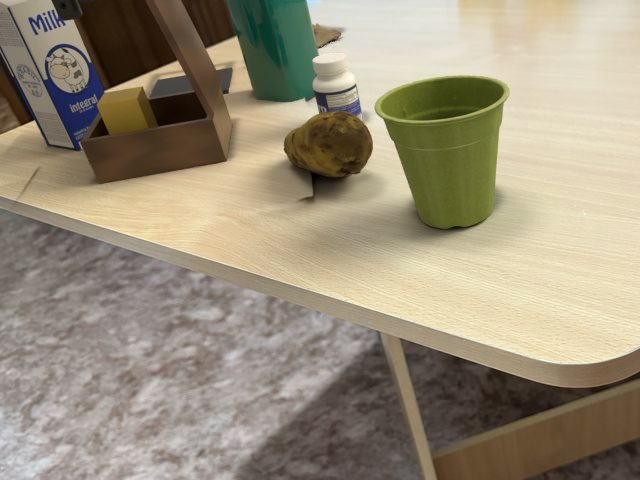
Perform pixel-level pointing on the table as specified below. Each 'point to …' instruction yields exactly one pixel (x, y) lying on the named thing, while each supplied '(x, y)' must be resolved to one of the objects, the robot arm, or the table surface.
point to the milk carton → (50, 70)
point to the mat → (187, 84)
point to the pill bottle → (335, 85)
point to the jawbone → (324, 35)
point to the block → (126, 111)
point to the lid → (188, 50)
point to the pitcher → (276, 47)
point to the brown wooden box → (161, 140)
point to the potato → (330, 144)
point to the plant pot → (447, 144)
